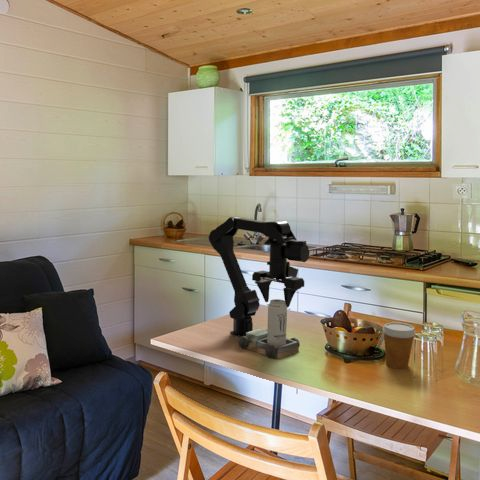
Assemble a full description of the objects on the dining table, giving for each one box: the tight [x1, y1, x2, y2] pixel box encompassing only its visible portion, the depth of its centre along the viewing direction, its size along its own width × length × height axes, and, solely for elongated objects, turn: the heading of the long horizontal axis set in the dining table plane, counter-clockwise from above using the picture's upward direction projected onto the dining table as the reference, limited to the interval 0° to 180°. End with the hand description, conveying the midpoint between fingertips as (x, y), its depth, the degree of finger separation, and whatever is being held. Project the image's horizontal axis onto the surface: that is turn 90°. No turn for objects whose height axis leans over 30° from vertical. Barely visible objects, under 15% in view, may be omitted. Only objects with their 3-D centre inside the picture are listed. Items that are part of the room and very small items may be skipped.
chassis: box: [237, 328, 301, 360], centre depth 174 cm, size 17×12×4 cm
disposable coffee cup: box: [382, 322, 416, 370], centre depth 161 cm, size 10×10×12 cm
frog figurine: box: [376, 332, 385, 349], centre depth 176 cm, size 6×7×7 cm
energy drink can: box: [267, 298, 288, 347], centre depth 170 cm, size 6×6×15 cm
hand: (276, 304), depth 179 cm, fingers open, 9 cm apart
